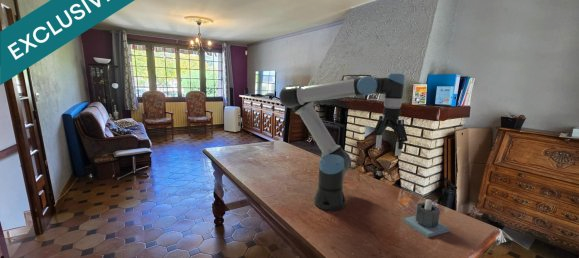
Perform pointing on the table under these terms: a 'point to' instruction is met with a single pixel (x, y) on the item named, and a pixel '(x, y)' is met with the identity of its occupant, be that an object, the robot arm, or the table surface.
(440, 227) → the shaft block
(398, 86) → the robot arm
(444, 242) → the table surface
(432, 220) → the hub
